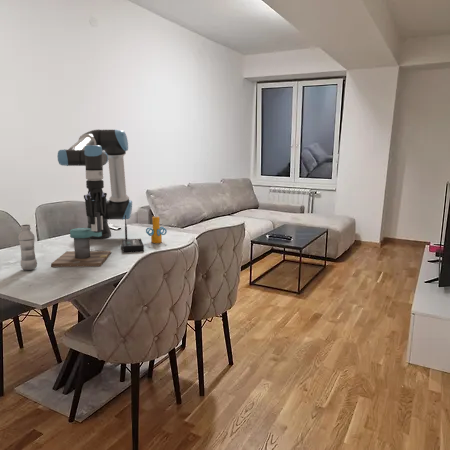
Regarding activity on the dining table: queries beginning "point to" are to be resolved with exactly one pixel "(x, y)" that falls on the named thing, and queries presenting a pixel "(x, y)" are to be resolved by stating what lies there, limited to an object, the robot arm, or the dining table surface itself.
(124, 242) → the wireless controller
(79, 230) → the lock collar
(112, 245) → the dining table surface
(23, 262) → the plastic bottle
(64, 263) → the base
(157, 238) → the cylinder
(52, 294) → the dining table surface
